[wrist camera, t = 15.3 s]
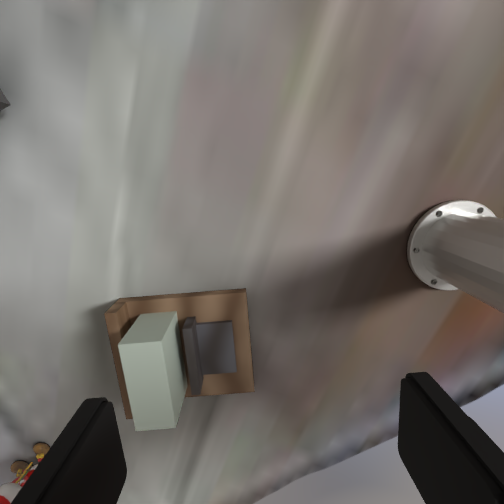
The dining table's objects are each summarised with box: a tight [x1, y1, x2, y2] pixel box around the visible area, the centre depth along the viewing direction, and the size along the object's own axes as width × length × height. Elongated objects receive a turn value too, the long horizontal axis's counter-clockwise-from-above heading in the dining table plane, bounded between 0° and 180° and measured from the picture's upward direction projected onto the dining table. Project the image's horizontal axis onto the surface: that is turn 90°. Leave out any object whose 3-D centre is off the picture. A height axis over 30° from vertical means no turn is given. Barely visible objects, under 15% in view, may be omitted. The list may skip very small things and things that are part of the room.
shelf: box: [104, 288, 254, 419], centre depth 44 cm, size 18×16×5 cm
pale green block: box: [118, 311, 188, 431], centre depth 41 cm, size 5×12×8 cm, turn 4°
